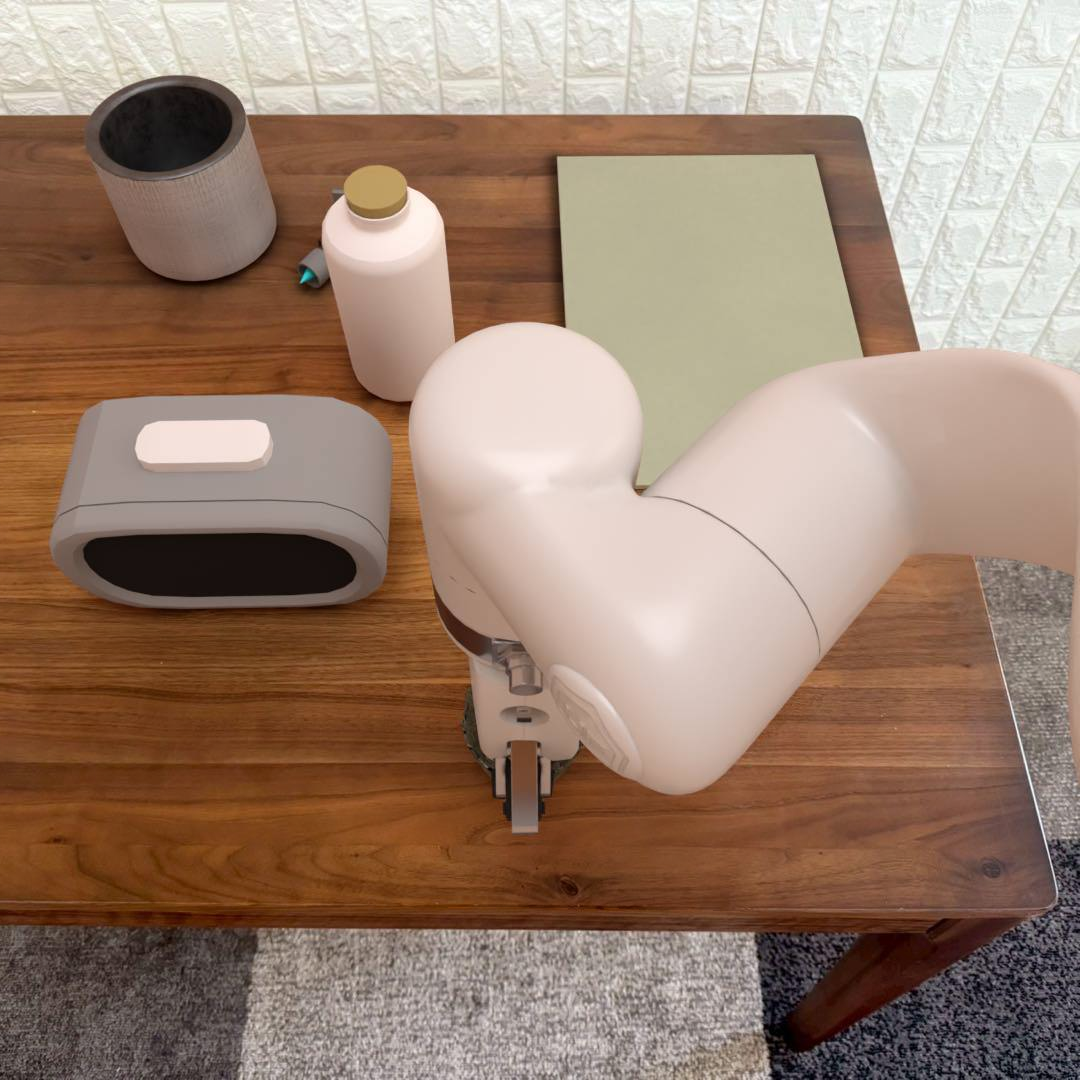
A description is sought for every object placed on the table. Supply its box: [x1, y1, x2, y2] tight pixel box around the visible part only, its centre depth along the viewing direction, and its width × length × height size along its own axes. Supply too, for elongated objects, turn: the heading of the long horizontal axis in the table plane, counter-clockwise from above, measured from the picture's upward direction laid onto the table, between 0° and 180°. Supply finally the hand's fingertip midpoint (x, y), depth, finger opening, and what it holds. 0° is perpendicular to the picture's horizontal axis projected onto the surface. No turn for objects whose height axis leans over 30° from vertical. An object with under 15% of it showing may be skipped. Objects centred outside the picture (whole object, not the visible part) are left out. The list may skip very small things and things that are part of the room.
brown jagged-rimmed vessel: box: [460, 686, 585, 782], centre depth 58 cm, size 8×7×8 cm
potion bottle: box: [321, 164, 456, 403], centre depth 69 cm, size 8×8×18 cm
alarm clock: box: [48, 394, 394, 610], centre depth 63 cm, size 21×10×13 cm, turn 91°
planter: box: [83, 74, 277, 282], centre depth 79 cm, size 13×12×11 cm
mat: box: [556, 154, 864, 490], centre depth 80 cm, size 36×24×1 cm, turn 2°
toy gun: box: [296, 188, 344, 289], centre depth 80 cm, size 10×12×5 cm
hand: (520, 707), depth 55 cm, fingers open, 9 cm apart
